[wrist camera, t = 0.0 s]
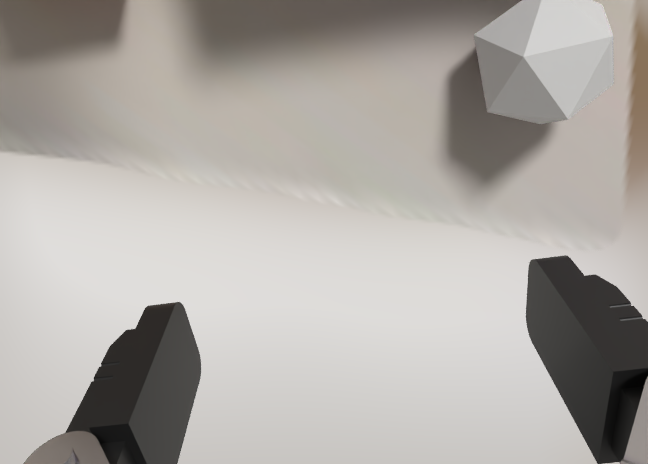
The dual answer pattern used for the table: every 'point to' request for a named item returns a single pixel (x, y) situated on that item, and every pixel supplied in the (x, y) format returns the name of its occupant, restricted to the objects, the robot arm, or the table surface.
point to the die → (545, 59)
